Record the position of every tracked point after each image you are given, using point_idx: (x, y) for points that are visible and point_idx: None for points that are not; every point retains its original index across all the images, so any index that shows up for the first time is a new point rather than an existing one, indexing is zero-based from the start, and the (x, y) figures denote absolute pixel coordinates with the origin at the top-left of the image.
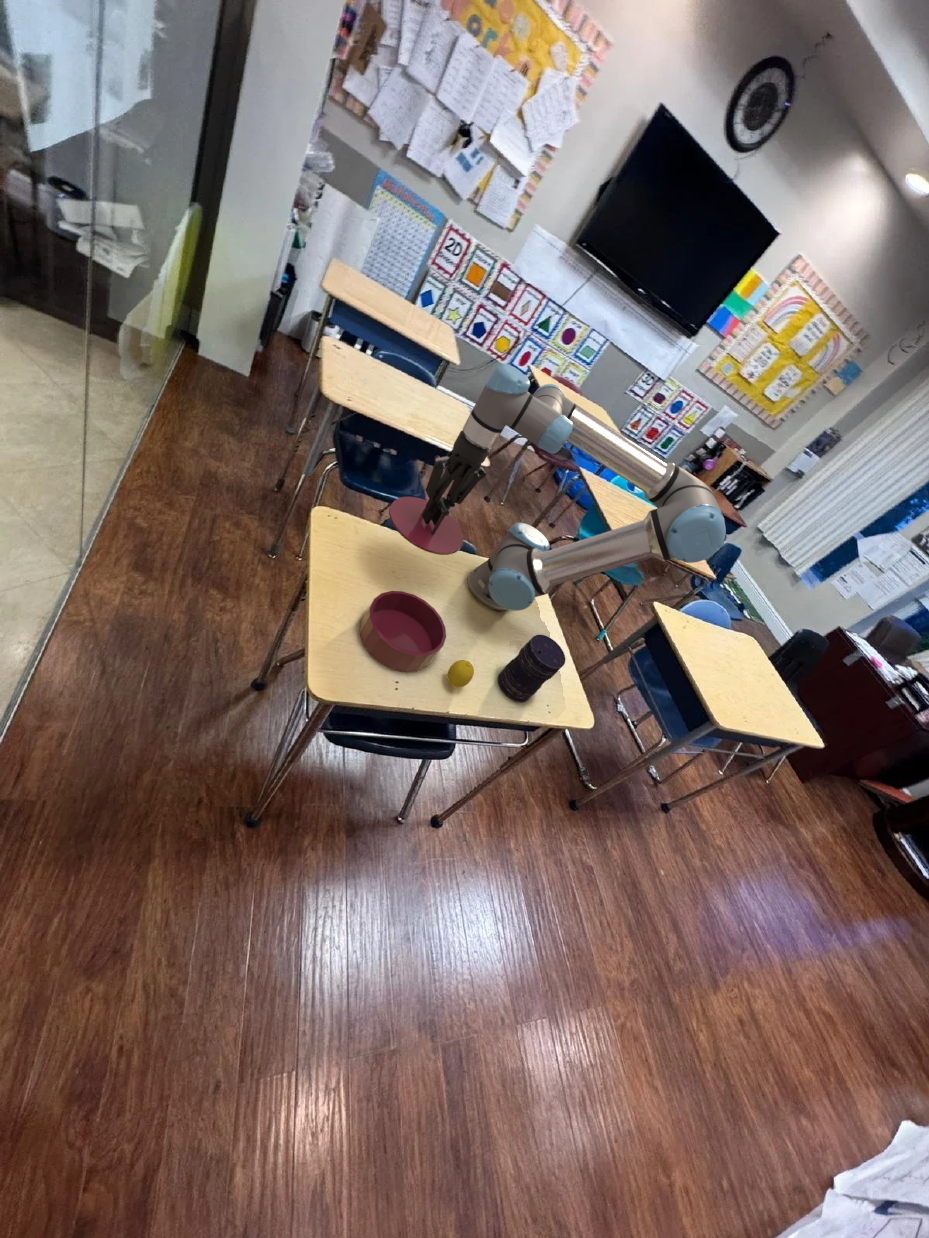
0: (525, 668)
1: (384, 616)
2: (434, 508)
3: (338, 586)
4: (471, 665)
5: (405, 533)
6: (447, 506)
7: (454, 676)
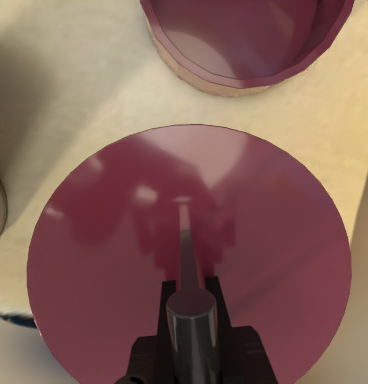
0: None
1: (255, 64)
2: (235, 340)
3: (336, 141)
4: None
5: (316, 204)
6: (157, 374)
7: None
